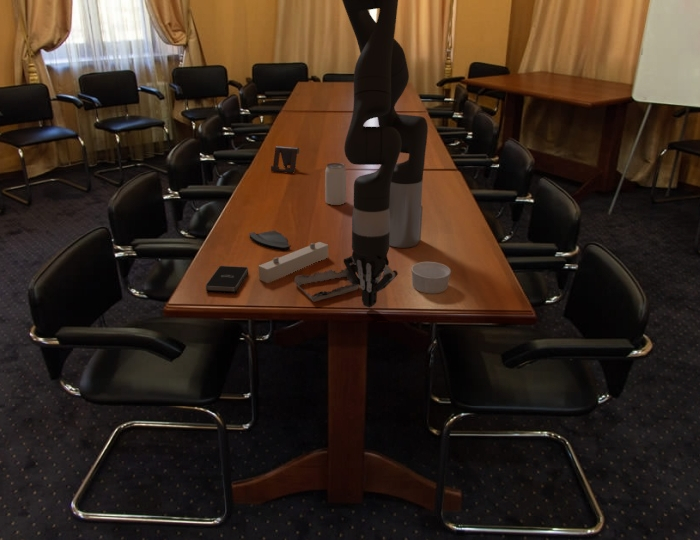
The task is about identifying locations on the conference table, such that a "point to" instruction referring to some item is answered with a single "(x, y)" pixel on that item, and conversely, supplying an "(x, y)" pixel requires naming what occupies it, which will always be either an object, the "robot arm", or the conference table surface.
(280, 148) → the portable electronic device stand
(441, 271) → the ramekin
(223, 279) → the external hard drive
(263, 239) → the fan shaped piece
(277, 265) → the grey toothed bar
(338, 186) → the can
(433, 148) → the conference table surface
